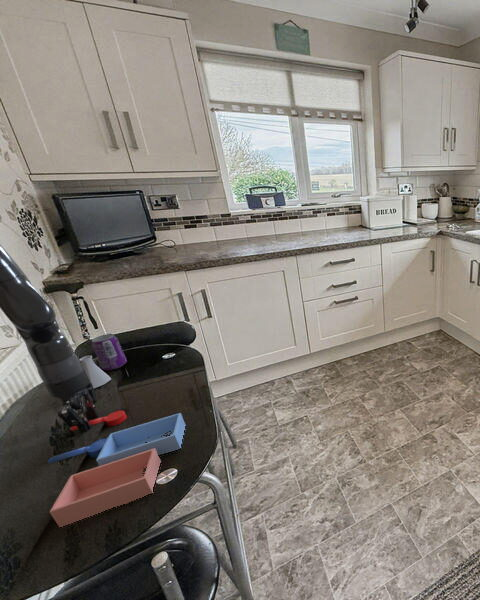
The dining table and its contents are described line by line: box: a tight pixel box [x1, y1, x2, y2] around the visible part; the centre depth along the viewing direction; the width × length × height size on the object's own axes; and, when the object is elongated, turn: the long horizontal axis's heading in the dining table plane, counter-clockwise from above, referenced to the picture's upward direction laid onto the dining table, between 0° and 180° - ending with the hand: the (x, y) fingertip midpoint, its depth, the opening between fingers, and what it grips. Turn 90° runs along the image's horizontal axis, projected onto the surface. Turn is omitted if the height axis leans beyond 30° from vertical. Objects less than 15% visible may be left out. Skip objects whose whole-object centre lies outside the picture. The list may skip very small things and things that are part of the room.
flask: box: [78, 355, 112, 390], centre depth 108 cm, size 7×7×10 cm
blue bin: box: [95, 412, 187, 467], centre depth 79 cm, size 15×9×4 cm, turn 115°
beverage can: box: [91, 333, 128, 371], centre depth 118 cm, size 7×7×12 cm
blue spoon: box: [47, 437, 108, 464], centre depth 79 cm, size 12×4×2 cm, turn 115°
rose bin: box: [49, 448, 162, 528], centre depth 68 cm, size 15×9×4 cm, turn 115°
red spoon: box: [70, 410, 128, 431], centre depth 89 cm, size 12×4×2 cm, turn 115°
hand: (91, 426), depth 89 cm, fingers open, 4 cm apart
